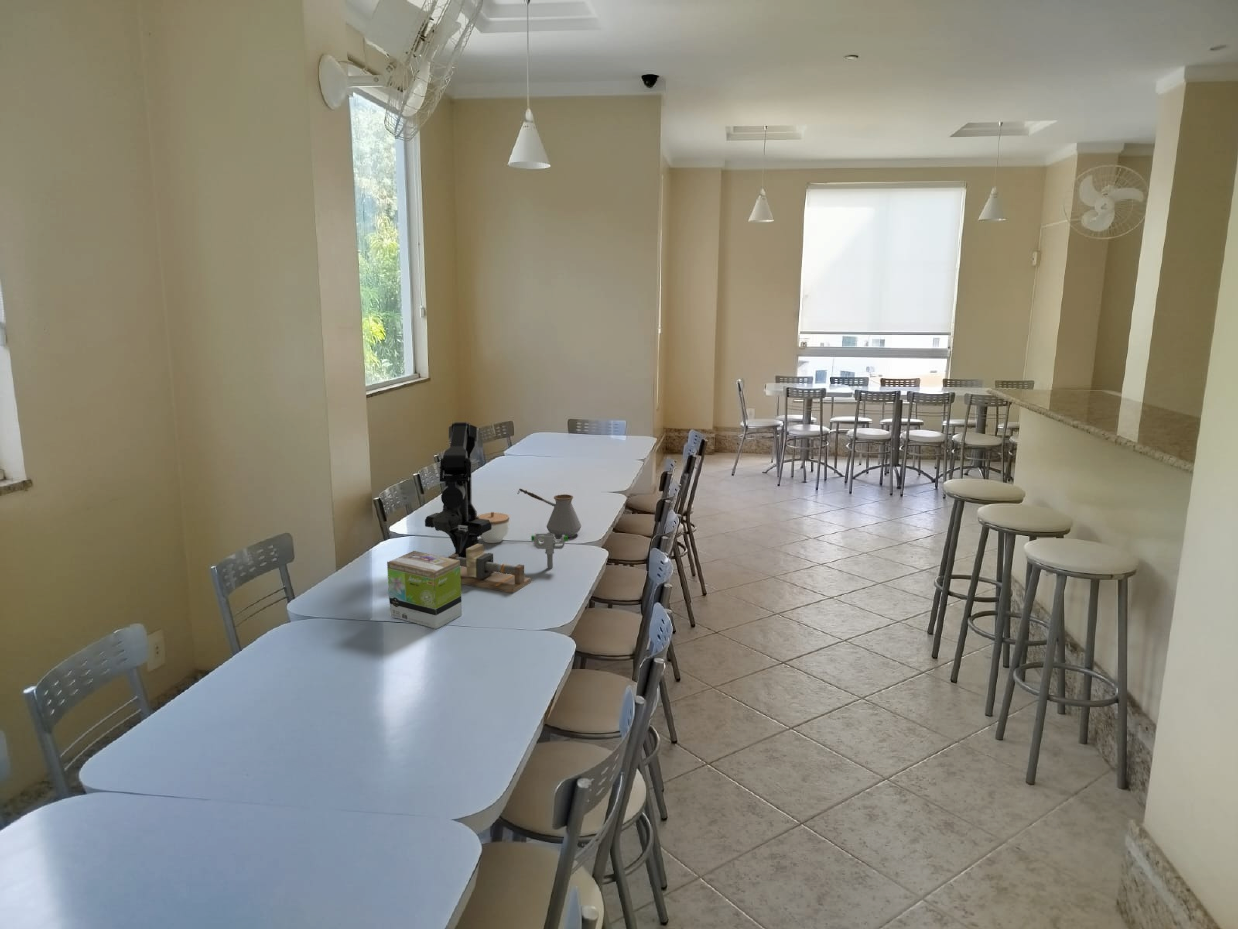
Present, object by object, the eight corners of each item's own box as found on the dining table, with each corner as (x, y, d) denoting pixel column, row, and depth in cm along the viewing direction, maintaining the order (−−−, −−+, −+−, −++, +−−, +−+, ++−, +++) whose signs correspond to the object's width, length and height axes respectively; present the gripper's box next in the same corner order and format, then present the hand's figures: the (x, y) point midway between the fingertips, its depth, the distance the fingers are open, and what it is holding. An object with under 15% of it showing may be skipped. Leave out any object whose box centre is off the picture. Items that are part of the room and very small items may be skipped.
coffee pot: (584, 530, 267) (584, 487, 264) (576, 540, 256) (576, 495, 253) (523, 527, 271) (522, 484, 268) (513, 536, 260) (512, 492, 257)
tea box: (388, 618, 194) (385, 560, 191) (416, 604, 203) (413, 549, 200) (436, 630, 187) (433, 570, 184) (463, 615, 196) (461, 558, 193)
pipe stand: (442, 580, 220) (441, 559, 219) (461, 570, 228) (460, 550, 227) (513, 593, 210) (512, 571, 209) (530, 582, 218) (530, 561, 217)
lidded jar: (470, 543, 253) (469, 515, 251) (485, 534, 263) (484, 506, 261) (501, 546, 250) (500, 517, 248) (515, 536, 260) (514, 509, 258)
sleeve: (467, 575, 218) (465, 549, 217) (478, 569, 223) (477, 543, 221) (476, 577, 217) (475, 550, 215) (487, 571, 222) (486, 545, 220)
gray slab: (477, 578, 217) (476, 558, 216) (488, 571, 222) (488, 552, 220) (482, 579, 216) (481, 559, 215) (493, 572, 221) (493, 553, 220)
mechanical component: (567, 569, 228) (566, 536, 226) (531, 569, 229) (530, 536, 227) (568, 566, 231) (567, 533, 229) (533, 566, 232) (532, 533, 229)
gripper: (410, 501, 215) (413, 556, 218) (467, 509, 207) (470, 566, 210) (436, 492, 225) (438, 545, 228) (491, 499, 217) (493, 554, 220)
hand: (459, 552), depth 221 cm, fingers closed
